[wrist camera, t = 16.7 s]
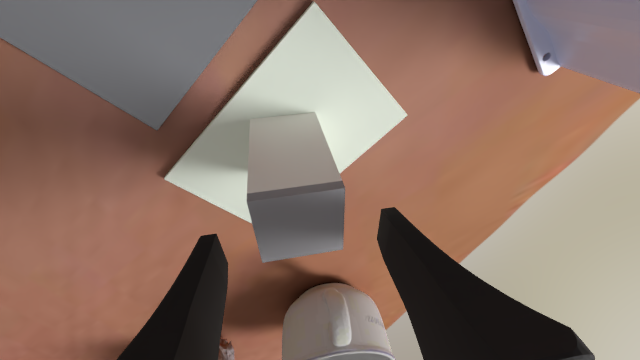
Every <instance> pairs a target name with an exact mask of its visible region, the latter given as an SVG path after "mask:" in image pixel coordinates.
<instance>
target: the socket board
mask: <svg viewBox="0 0 640 360" xmlns="http://www.w3.org/2000/svg"><path fill="white" fill-rule="evenodd" d="M256 1H257V0H0V38H2V39H3V40H5V41H7V42H9V43H10V44H12V45H14V46H15V47H17V48H19V49H20V50H22V51H24V52H25V53H27V54H29V55H30V56H32V57H34V58H36V59H37V60H39V61H41V62H42V63H44V64H46V65H47V66H49V67H51V68H52V69H54V70H56V71H57V72H59V73H61V74H62V75H64V76H66V77H68V78H69V79H71V80H73V81H74V82H76V83H78V84H79V85H81V86H83V87H84V88H86V89H88V90H89V91H91V92H93V93H94V94H96V95H98V96H100V97H101V98H103V99H105V100H106V101H108V102H110V103H111V104H113V105H115V106H116V107H118V108H120V109H121V110H123V111H125V112H127V113H128V114H130V115H132V116H133V117H135V118H137V119H138V120H140V121H142V122H143V123H145V124H147V125H148V126H150V127H152V128H153V129H155V130H158V129H159V128H160V126H161V125H162V124H163V122H164V121H165V120H166V119H167V117H168V116H169V115H170V113H171V112H172V111H173V109H174V108H175V107H176V106H177V104H178V103H179V102H180V100H181V99H182V98H183V96H184V95H185V94H186V93H187V91H188V90H189V89H190V87H191V86H192V85H193V83H194V82H195V81H196V80H197V78H198V77H199V76H200V74H201V73H202V72H203V70H204V69H205V68H206V66H207V65H208V64H209V63H210V61H211V60H212V59H213V57H214V56H215V55H216V53H217V52H218V51H219V50H220V48H221V47H222V46H223V44H224V43H225V42H226V40H227V39H228V38H229V37H230V35H231V34H232V33H233V31H234V30H235V29H236V27H237V26H238V25H239V24H240V22H241V21H242V20H243V18H244V17H245V16H246V14H247V13H248V12H249V11H250V9H251V8H252V7H253V5H254V4H255V3H256Z"/></svg>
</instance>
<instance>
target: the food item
mask: <svg viewBox="0 0 640 360" xmlns="http://www.w3.org/2000/svg"><path fill="white" fill-rule="evenodd" d="M218 360H234V348H233V346H232V344H231V341H230V343H229V344H228V341H227V339H220V345H219V358H218Z"/></svg>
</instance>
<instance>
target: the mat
mask: <svg viewBox="0 0 640 360" xmlns="http://www.w3.org/2000/svg"><path fill="white" fill-rule="evenodd" d="M313 112H315V113H316V115H317V118H318V120H319V123H320V125H321V128H322V131H323V133H324V136H325V138H326V141H327V143H328V146H329V148H330V151H331V153H332V156H333V159H334V161H335V164H336V166H337V169H338V171H339V174H340V173H341V172H342V171H343V170H344V169H346V168H347V167H348V166H349V165H350V164H351V163H353V162H354V161H355V160H356V159H357V158H358V157H360V156H361V155H362V154H363V153H364V152H365V151H367V150H368V149H369V148H370V147H371V146H372V145H374V144H375V143H376V142H377V141H378V140H379V139H381V138H382V137H383V136H384V135H385V134H386V133H388V132H389V131H390V130H391V129H392V128H393V127H395V126H396V125H397V124H398V123H399V122H400V121H402V120H403V119H404V118H405V117H406V116H407V114H406V113H405V111H404V110H403V109H402V108H401V107H400V105H399V104H398V103H397V102H396V100H395V99H394V98H393V97H392V96H391V94H390V93H389V92H388V91H387V89H386V88H385V87H384V86H383V85H382V83H381V82H380V81H379V80H378V78H377V77H376V76H375V75H374V74H373V72H372V71H371V70H370V69H369V68H368V66H367V65H366V64H365V63H364V61H363V60H362V59H361V58H360V57H359V55H358V54H357V53H356V52H355V50H354V49H353V48H352V47H351V46H350V44H349V43H348V42H347V41H346V39H345V38H344V37H343V36H342V35H341V33H340V32H339V31H338V30H337V29H336V27H335V26H334V25H333V24H332V22H331V21H330V20H329V19H328V18H327V16H326V15H325V14H324V13H323V11H322V10H321V9H320V8H319V7H318V5H317V4H316V3H315V2H314V1H313V2H312V3H311V5H310V6H309V7H308V8H307V9H306V10H305V12H304V13H303V14H302V15H301V16H300V17H299V19H298V20H297V21H296V22H295V23H294V25H293V26H292V27H291V28H290V29H289V30H288V32H287V33H286V34H285V35H284V36H283V38H282V39H281V40H280V41H279V42H278V43H277V45H276V46H275V47H274V48H273V49H272V51H271V52H270V53H269V54H268V55H267V56H266V58H265V59H264V60H263V61H262V62H261V64H260V65H259V66H258V67H257V68H256V69H255V71H254V72H253V73H252V74H251V75H250V76H249V78H248V79H247V80H246V81H245V82H244V84H243V85H242V86H241V87H240V88H239V89H238V91H237V92H236V93H235V94H234V95H233V97H232V98H231V99H230V100H229V101H228V102H227V104H226V105H225V106H224V107H223V108H222V110H221V111H220V112H219V113H218V114H217V115H216V117H215V118H214V119H213V120H212V121H211V122H210V124H209V125H208V126H207V127H206V128H205V130H204V131H203V132H202V133H201V134H200V135H199V137H198V138H197V139H196V140H195V141H194V143H193V144H192V145H191V146H190V147H189V148H188V150H187V151H186V152H185V153H184V154H183V156H182V157H181V158H180V159H179V160H178V161H177V163H176V164H175V165H174V166H173V167H172V169H171V170H170V171H169V172H168V173H167V174H166V176H165V178H164V179H165V180H167V181H169V182H171V183H173V184H175V185H177V186H179V187H181V188H183V189H185V190H187V191H188V192H190V193H192V194H194V195H196V196H198V197H200V198H202V199H204V200H206V201H208V202H210V203H212V204H214V205H216V206H218V207H220V208H222V209H224V210H226V211H228V212H230V213H232V214H234V215H236V216H238V217H240V218H242V219H244V220H246V221H248V222H250V223H252V221H251V217H250V213H249V209H248V205H247V180H248V155H249V130H250V119H255V118H265V117H274V116H284V115H294V114H303V113H313Z"/></svg>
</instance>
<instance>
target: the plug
mask: <svg viewBox="0 0 640 360" xmlns="http://www.w3.org/2000/svg"><path fill="white" fill-rule="evenodd" d="M247 205H248V209H249V213H250V217H251V221H252V224H253V228H254V232H255V236H256V240H257V244H258V248H259V251H260V255H261V259H262V263H264V262H270V261H276V260H282V259H288V258H294V257H300V256H306V255H312V254H318V253H324V252H330V251H336V250H342V249H343V234H344V206H345V186H344V184H343V181H342V179H341V176H340V174H339V171H338V169H337V166H336V164H335V161H334V159H333V156H332V153H331V151H330V148H329V146H328V143H327V141H326V138H325V136H324V133H323V131H322V128H321V125H320V123H319V120H318V118H317V115H316V113H315V112H313V113H303V114H294V115H284V116H274V117H265V118H255V119H250V130H249V155H248V180H247Z"/></svg>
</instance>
